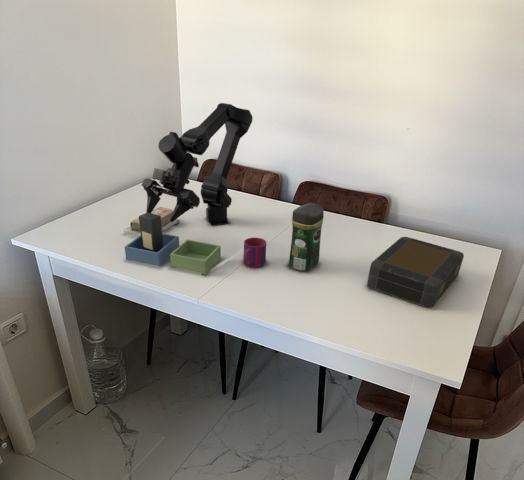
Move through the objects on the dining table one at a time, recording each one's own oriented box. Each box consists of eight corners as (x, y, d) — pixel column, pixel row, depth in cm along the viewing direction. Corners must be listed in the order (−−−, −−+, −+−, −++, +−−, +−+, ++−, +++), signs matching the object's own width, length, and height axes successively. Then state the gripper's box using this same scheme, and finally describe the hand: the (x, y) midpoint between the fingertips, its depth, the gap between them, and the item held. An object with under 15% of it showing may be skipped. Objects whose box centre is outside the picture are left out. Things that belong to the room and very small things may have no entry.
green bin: (187, 253, 155) (187, 239, 152) (220, 259, 152) (220, 245, 150) (171, 268, 146) (169, 254, 144) (205, 275, 144) (205, 261, 141)
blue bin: (148, 243, 159) (146, 230, 157) (179, 249, 157) (178, 236, 154) (126, 260, 149) (124, 246, 146) (159, 267, 146) (158, 253, 144)
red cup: (269, 261, 152) (270, 241, 148) (251, 274, 145) (251, 252, 141) (251, 255, 155) (252, 235, 151) (232, 267, 148) (232, 246, 144)
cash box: (395, 256, 159) (400, 233, 154) (458, 275, 150) (466, 252, 145) (362, 287, 142) (366, 262, 137) (431, 310, 133) (438, 285, 128)
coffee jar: (299, 256, 156) (305, 198, 145) (322, 263, 153) (329, 204, 142) (283, 267, 150) (288, 207, 138) (306, 275, 146) (313, 214, 135)
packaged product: (156, 203, 174) (179, 209, 171) (157, 216, 177) (180, 223, 174) (121, 220, 161) (146, 227, 158) (123, 234, 164) (147, 241, 161)
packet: (151, 249, 155) (147, 212, 148) (164, 253, 153) (160, 215, 146) (142, 253, 152) (138, 216, 145) (155, 258, 150) (151, 220, 143)
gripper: (142, 150, 147) (120, 197, 146) (192, 162, 139) (169, 212, 138) (162, 171, 157) (141, 215, 156) (209, 183, 149) (188, 229, 148)
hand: (159, 217), depth 149 cm, fingers open, 9 cm apart
